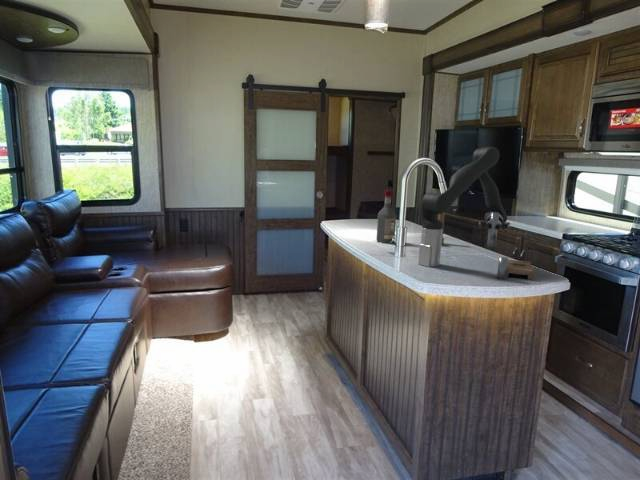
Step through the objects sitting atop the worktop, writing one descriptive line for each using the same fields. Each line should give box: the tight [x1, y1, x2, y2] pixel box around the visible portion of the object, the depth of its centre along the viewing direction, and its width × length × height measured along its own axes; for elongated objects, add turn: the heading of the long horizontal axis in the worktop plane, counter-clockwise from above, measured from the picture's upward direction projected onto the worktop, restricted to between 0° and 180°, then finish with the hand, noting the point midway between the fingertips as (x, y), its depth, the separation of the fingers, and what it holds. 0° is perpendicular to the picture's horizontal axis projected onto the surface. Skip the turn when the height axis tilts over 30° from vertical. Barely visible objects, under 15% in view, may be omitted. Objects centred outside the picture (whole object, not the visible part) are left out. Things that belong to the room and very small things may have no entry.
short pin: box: [496, 256, 509, 281], centre depth 187 cm, size 4×4×9 cm
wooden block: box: [437, 212, 446, 245], centre depth 258 cm, size 4×11×18 cm, turn 113°
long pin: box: [486, 211, 499, 248], centre depth 200 cm, size 4×4×15 cm
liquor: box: [376, 189, 397, 244], centre depth 258 cm, size 9×9×30 cm
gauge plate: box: [506, 259, 533, 281], centre depth 197 cm, size 18×10×4 cm, turn 157°
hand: (493, 226), depth 197 cm, fingers closed on long pin, 3 cm apart
